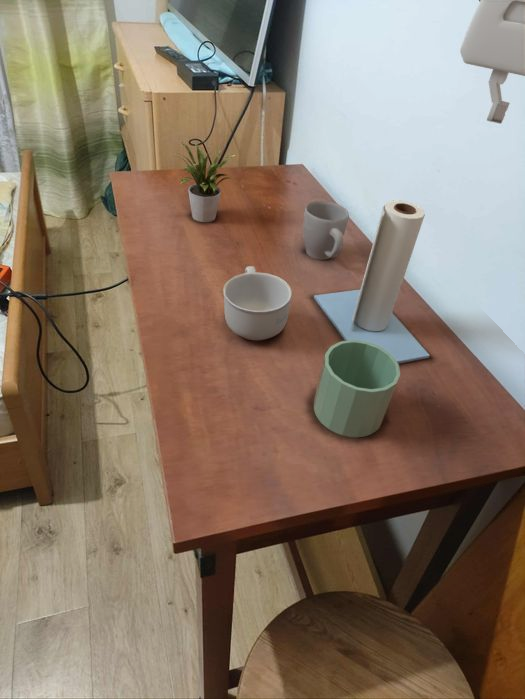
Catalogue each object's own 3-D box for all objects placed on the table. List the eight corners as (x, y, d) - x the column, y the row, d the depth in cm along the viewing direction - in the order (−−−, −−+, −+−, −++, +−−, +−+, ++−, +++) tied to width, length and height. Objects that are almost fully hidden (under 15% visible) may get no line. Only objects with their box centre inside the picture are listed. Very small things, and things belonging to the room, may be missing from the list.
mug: (291, 244, 109) (298, 201, 102) (329, 241, 111) (338, 199, 105) (313, 274, 100) (322, 230, 94) (353, 270, 103) (364, 227, 97)
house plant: (152, 216, 111) (149, 140, 101) (189, 196, 121) (190, 125, 110) (206, 237, 107) (209, 160, 96) (240, 214, 117) (246, 142, 106)
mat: (428, 358, 84) (430, 355, 84) (366, 369, 80) (367, 367, 80) (369, 290, 98) (370, 287, 98) (313, 297, 94) (314, 295, 94)
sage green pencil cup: (391, 403, 75) (408, 357, 70) (369, 448, 68) (387, 402, 63) (329, 376, 78) (341, 331, 72) (302, 417, 71) (313, 371, 65)
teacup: (285, 352, 82) (293, 312, 76) (218, 346, 81) (220, 305, 76) (284, 302, 92) (290, 264, 87) (224, 296, 92) (227, 257, 86)
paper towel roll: (383, 312, 92) (419, 200, 78) (391, 333, 87) (430, 218, 73) (344, 309, 91) (373, 196, 77) (349, 331, 87) (382, 214, 73)
